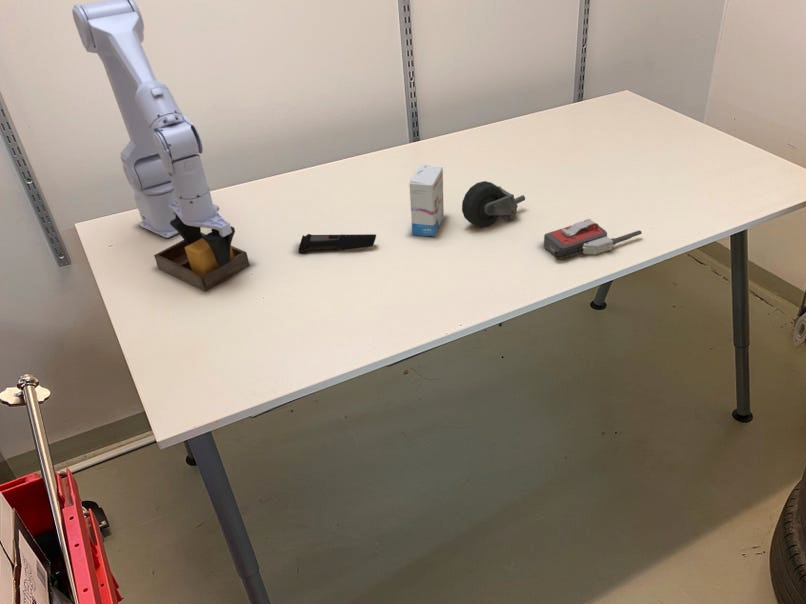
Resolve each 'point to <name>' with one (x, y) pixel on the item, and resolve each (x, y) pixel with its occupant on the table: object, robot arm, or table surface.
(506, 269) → the table surface
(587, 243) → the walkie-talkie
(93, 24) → the robot arm
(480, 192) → the caster wheel
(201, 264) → the carton
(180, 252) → the organizer
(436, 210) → the ink box
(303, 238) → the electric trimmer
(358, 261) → the table surface
